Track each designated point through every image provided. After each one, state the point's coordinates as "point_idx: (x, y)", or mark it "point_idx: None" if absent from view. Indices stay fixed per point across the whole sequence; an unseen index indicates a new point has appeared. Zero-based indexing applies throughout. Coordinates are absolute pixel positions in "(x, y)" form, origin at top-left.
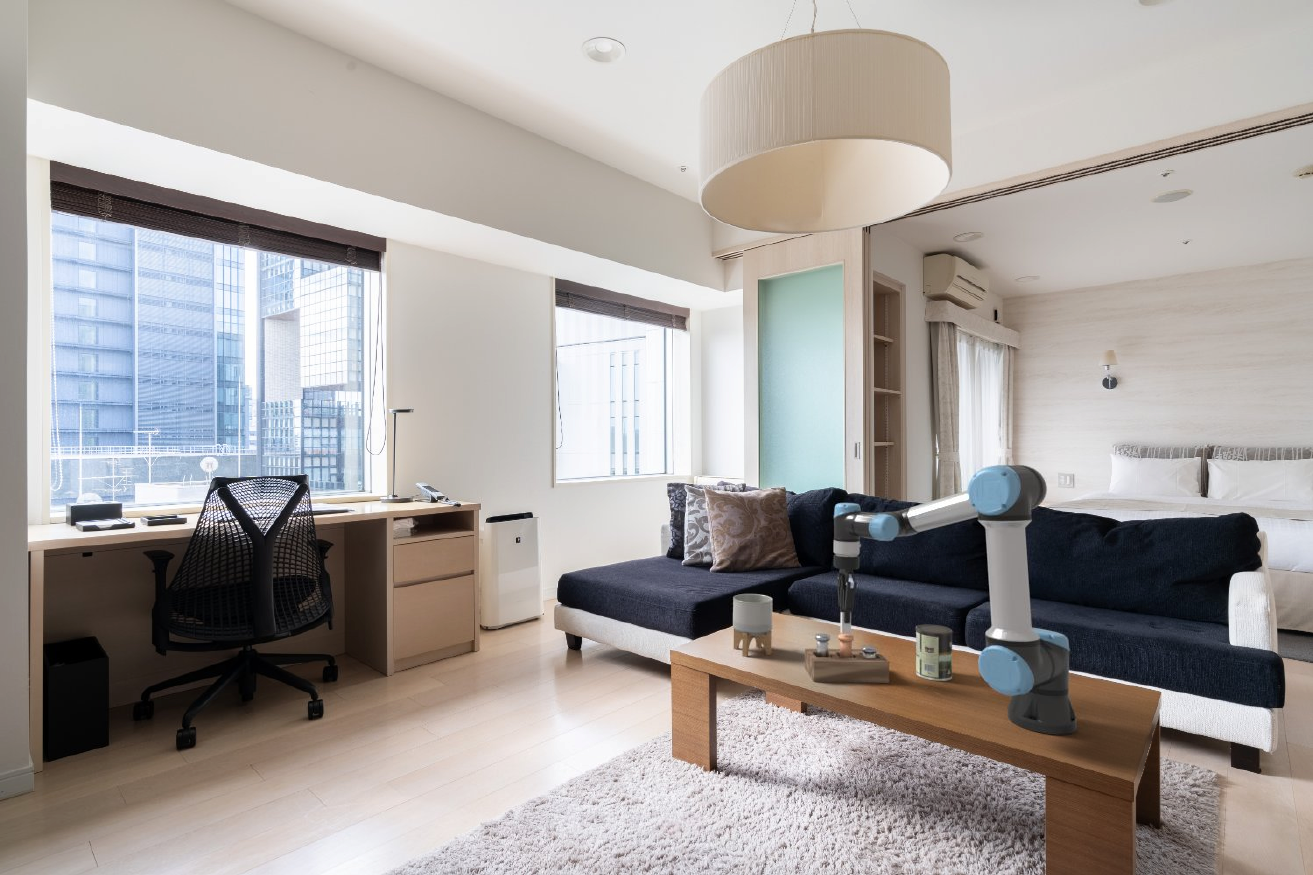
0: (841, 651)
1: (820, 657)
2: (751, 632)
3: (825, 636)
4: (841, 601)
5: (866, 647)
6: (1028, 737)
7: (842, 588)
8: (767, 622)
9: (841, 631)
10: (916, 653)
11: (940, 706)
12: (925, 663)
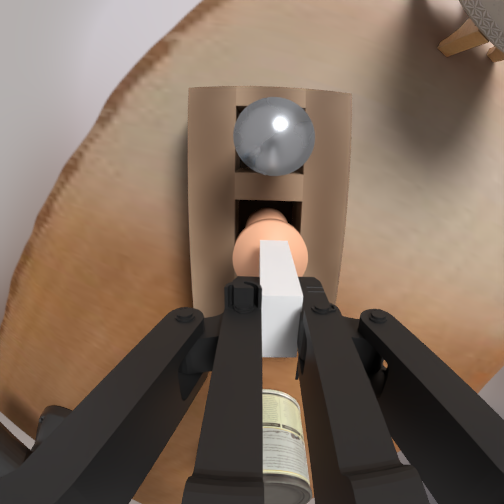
0: (258, 216)
1: (233, 122)
2: None
3: (257, 146)
4: (313, 348)
5: None
6: (26, 392)
7: (188, 485)
8: (488, 8)
9: (267, 242)
10: (273, 425)
11: (85, 353)
12: None
